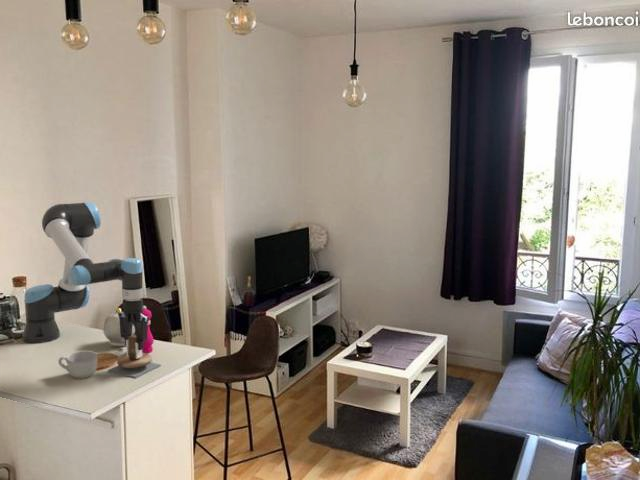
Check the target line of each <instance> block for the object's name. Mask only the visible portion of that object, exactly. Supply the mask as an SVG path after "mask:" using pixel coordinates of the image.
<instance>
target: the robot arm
mask: <svg viewBox="0 0 640 480" xmlns="http://www.w3.org/2000/svg"><path fill="white" fill-rule="evenodd" d="M101 225H102V220H101V214H100V211H99V209H98V207H97V205H96V204H95V203H93V202H84V201H83V202H76V203H74V202H73V203H58V204H54V205H52V206H51V207H49V208H48V209H47V210H46V211H45V212H44V214H43V217H42V219H41V227H42V230H43V232H44V234H45V236H47V237H48V238H50V239H52V241H53V242H54V244H55V246H56V247H57V248H58V250H59V251H60V253H61V254H62V256H63V257H64V267H63V273H62V274H63V275H62V278H61V279H59V281H58V286H53V285H52V284H48V283H47V284H37V285H35V286H32V287H30V288H28V289H26V291H25V292H24V300H23V301H24V309H25V326H24V329H23V332H22V341H23V342H25V343H31V344H38V343H48V342H52V341H54V340H57V339H58V338H60V335H61V333H60V329H59V327H58V324H57V322H56V317H55V314H56V313H61V312H62V313H63V312H67V311H72V310H73V311H74V310H79V309H81V308H83V309H84V308H85V307H86V306H87V304H89V302H90V301H89V300H90V296H91V295H90V287H89V285H92V284H98V283H99V284H100V283H104V282H112V281H121V289H122V290H121V291H122V294H121V295H122V298H123V299H122V309H123V311H121V313H118V316H119V319H120V334H121V337H123V338H124V339H125V346H124V347H125V348H126V354H127V356H129V336H131V333H132V326H133V325H134V327H135V333H134V334H135V335H136V338H137V341H136V342H135V346H136V358H137V359H138V358H140V357H142V349H143V341H145V340H147V322H148V319H149V317H148V316H144V315H143V312H142V308H143V306H144V299H143V297H144V292H143V291H144V290H143V269H144V268H143V265H142V264H143V263H142V260H141V259H140V258H134V257H129V258H124V259H120V258H113V259H110V260H109V261H103V262H96V263H94V262H93V261H92V259H91V258H90V256H89V255H88V248H89V242H90V241H89V240H90V238H91V237H93V235H94V232H95V230H97V229H100V227H101Z"/></svg>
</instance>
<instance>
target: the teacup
mask: <svg viewBox="0 0 640 480" xmlns="http://www.w3.org/2000/svg"><path fill="white" fill-rule="evenodd" d="M63 360H65V362H66V364H67V365H65V364H64V363H63ZM57 362H58V365H59V366H60V367H61V368H62V369H65V370H66V371H67V372H68V374H69V375H70V376H72V377H73V378H75V379H86V378H89V377H91V376H92V375H93V374H94V373H96V371H97V369H98V353H97V352H95V351H92V350H78V351H75V352H72V353H70V354H68V355H67V356H66V355H65V356H63V355H62V356H60V357H59V359H58V361H57Z"/></svg>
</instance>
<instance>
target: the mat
mask: <svg viewBox="0 0 640 480" xmlns="http://www.w3.org/2000/svg"><path fill="white" fill-rule="evenodd" d="M161 366H162V365H161V364H159V363H155V362H151V363H149V364H148V365H145V366H142V367H136V368H125V367H121V366H119V365H118V364H117V365H116V366H114V367H111V368H110V369H107V372H109V373H113V374H118V375H122V376H124V377H125V376H126V377H129V378H134V379H137V378H139V377H141V376H143V375H146V374H147V373H149V372H152V371H154V370H156V369H158V368H160V367H161Z"/></svg>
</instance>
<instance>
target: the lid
mask: <svg viewBox="0 0 640 480" xmlns="http://www.w3.org/2000/svg"><path fill="white" fill-rule="evenodd" d="M136 341H137V338H136V334H134V335H131V336H129V356H127V353H126V354H123V355H121V356H118V357H117V359H116V364H117V366H118V365H119V366H121V367H125V368H136V367H142V366H145V365H148V364H149V363H152V361H153V359H152V358H153V357H152V355H151V354H150V353H142V357H140V358H138V359H137V358H136V346H135V342H136Z"/></svg>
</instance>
